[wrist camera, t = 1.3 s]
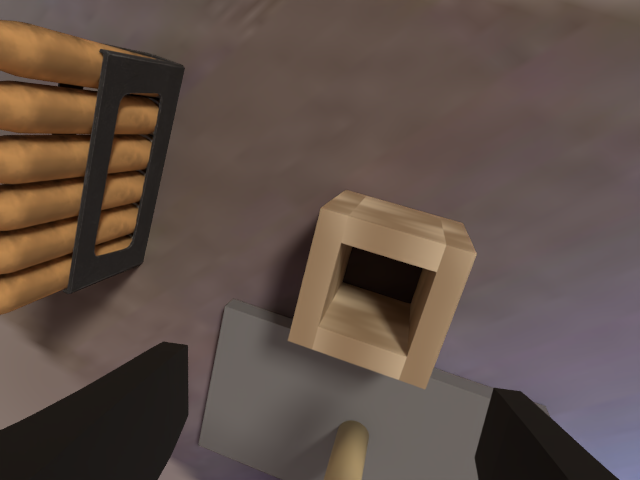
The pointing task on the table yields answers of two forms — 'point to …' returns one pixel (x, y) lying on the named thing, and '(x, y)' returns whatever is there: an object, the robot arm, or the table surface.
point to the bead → (375, 309)
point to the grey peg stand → (333, 411)
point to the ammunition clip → (77, 159)
